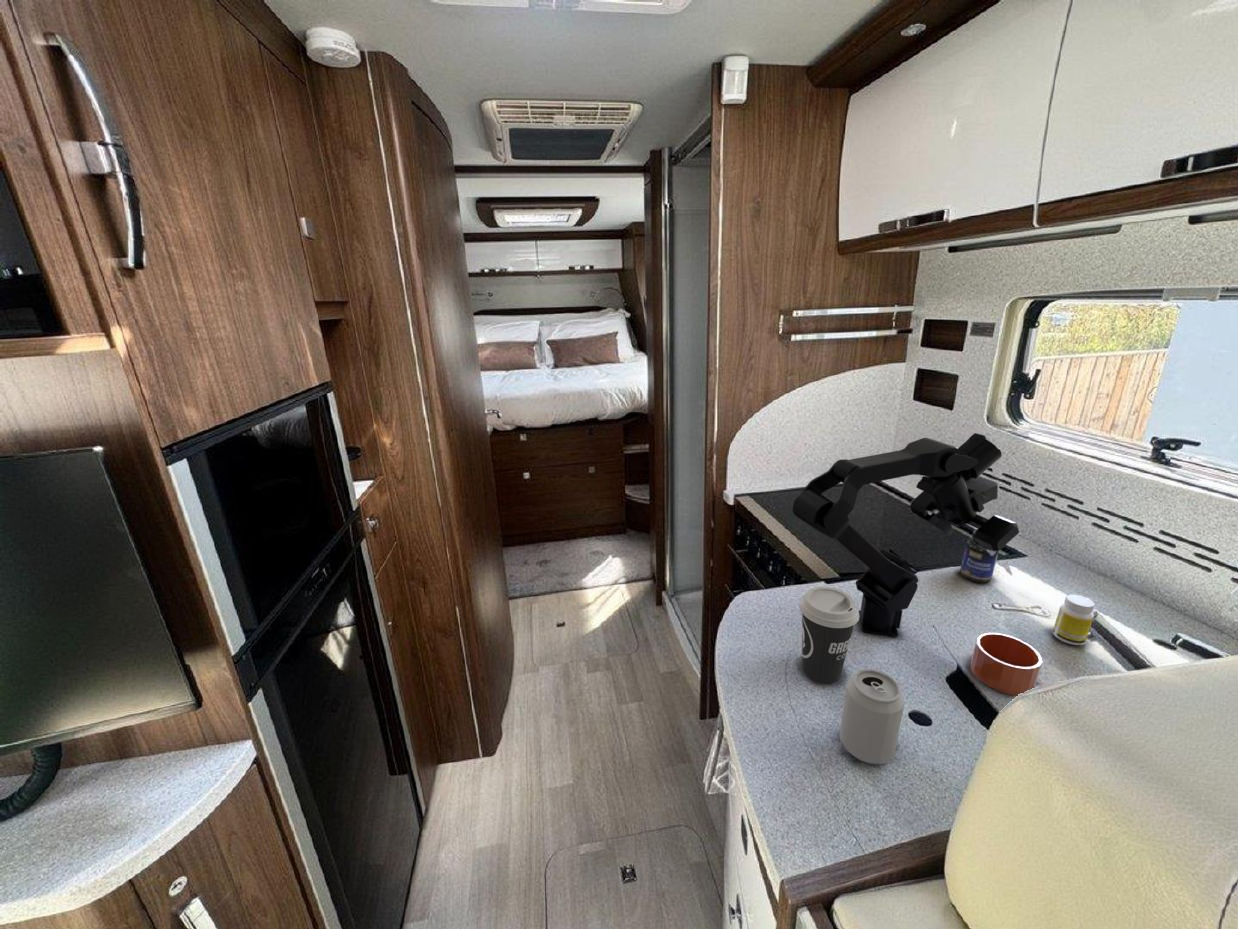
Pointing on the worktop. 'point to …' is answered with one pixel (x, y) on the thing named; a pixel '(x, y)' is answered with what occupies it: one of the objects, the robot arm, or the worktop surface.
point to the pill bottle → (977, 562)
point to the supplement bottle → (1074, 620)
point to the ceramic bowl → (1005, 663)
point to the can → (871, 716)
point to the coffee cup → (826, 632)
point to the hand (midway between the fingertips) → (970, 543)
